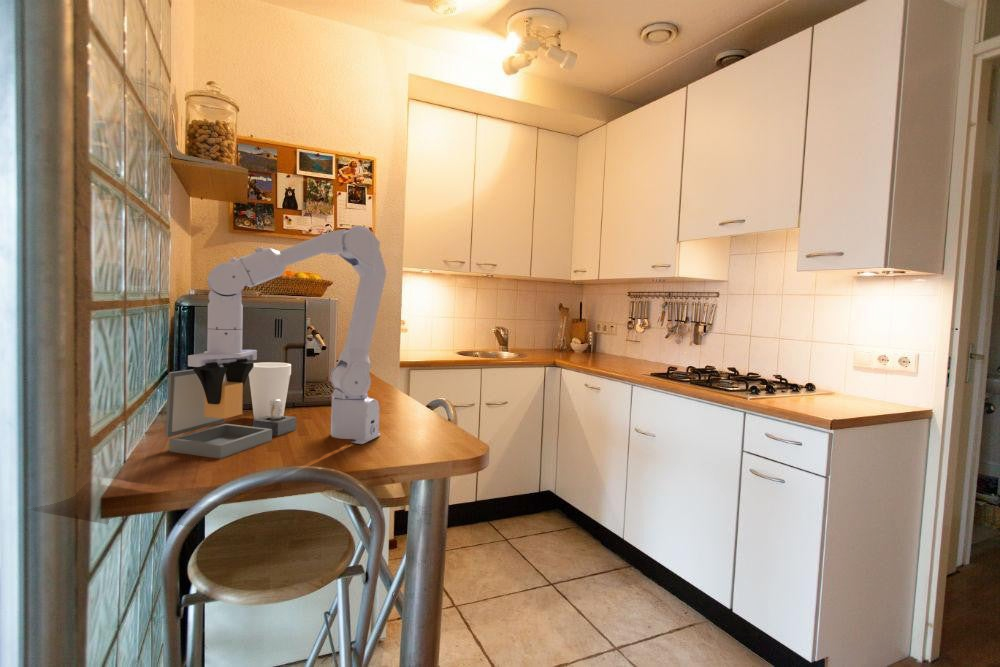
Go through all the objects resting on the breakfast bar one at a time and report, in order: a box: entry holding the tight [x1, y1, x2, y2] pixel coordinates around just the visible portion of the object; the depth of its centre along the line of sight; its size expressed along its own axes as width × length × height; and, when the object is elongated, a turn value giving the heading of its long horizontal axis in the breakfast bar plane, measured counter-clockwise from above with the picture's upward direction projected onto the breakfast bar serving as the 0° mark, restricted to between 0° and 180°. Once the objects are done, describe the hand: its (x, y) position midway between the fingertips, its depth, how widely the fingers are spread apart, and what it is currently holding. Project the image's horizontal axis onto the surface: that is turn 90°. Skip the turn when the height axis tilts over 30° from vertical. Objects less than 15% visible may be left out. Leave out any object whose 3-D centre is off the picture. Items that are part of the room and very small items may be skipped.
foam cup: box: [248, 361, 292, 420], centre depth 120 cm, size 10×9×13 cm
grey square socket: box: [252, 415, 297, 437], centre depth 106 cm, size 6×6×4 cm
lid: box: [164, 365, 227, 438], centre depth 95 cm, size 12×13×1 cm
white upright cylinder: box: [269, 399, 282, 421], centre depth 106 cm, size 2×2×7 cm
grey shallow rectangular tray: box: [168, 423, 273, 460], centre depth 94 cm, size 11×13×3 cm
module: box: [204, 381, 244, 420], centre depth 94 cm, size 4×4×6 cm
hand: (224, 401), depth 94 cm, fingers closed on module, 4 cm apart
